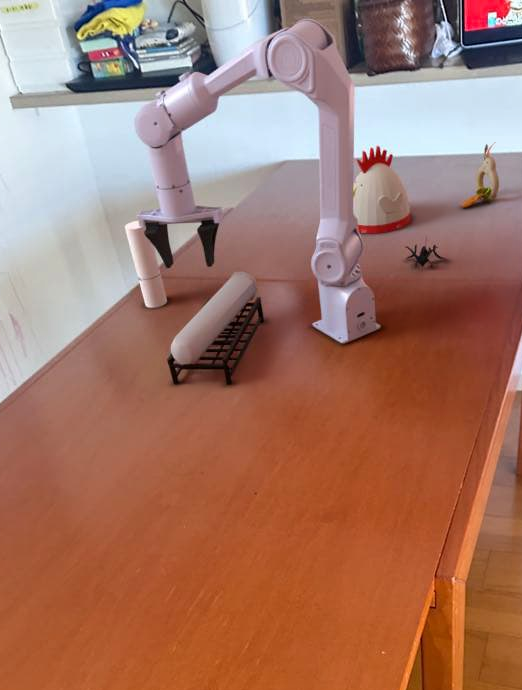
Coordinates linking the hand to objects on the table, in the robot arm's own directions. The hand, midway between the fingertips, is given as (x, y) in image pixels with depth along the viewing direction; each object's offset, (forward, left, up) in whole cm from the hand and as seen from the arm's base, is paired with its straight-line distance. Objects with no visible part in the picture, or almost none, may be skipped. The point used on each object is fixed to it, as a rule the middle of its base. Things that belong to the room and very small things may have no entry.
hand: (190, 265), depth 133 cm
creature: (-11, -43, -11) cm, 46 cm away
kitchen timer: (+14, -51, -11) cm, 54 cm away
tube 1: (+14, +3, -11) cm, 18 cm away
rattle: (+6, -72, -11) cm, 73 cm away
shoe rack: (-13, +3, -10) cm, 17 cm away
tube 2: (-13, +3, -7) cm, 15 cm away
